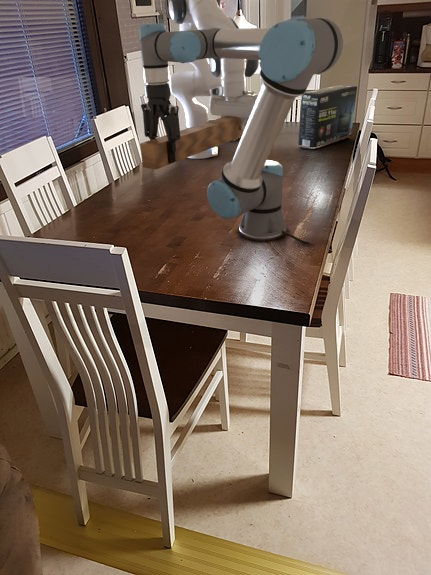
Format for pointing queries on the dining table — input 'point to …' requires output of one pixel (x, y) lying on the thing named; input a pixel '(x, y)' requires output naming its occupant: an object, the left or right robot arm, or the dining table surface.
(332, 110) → the router box
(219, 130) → the bar
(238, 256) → the dining table surface
